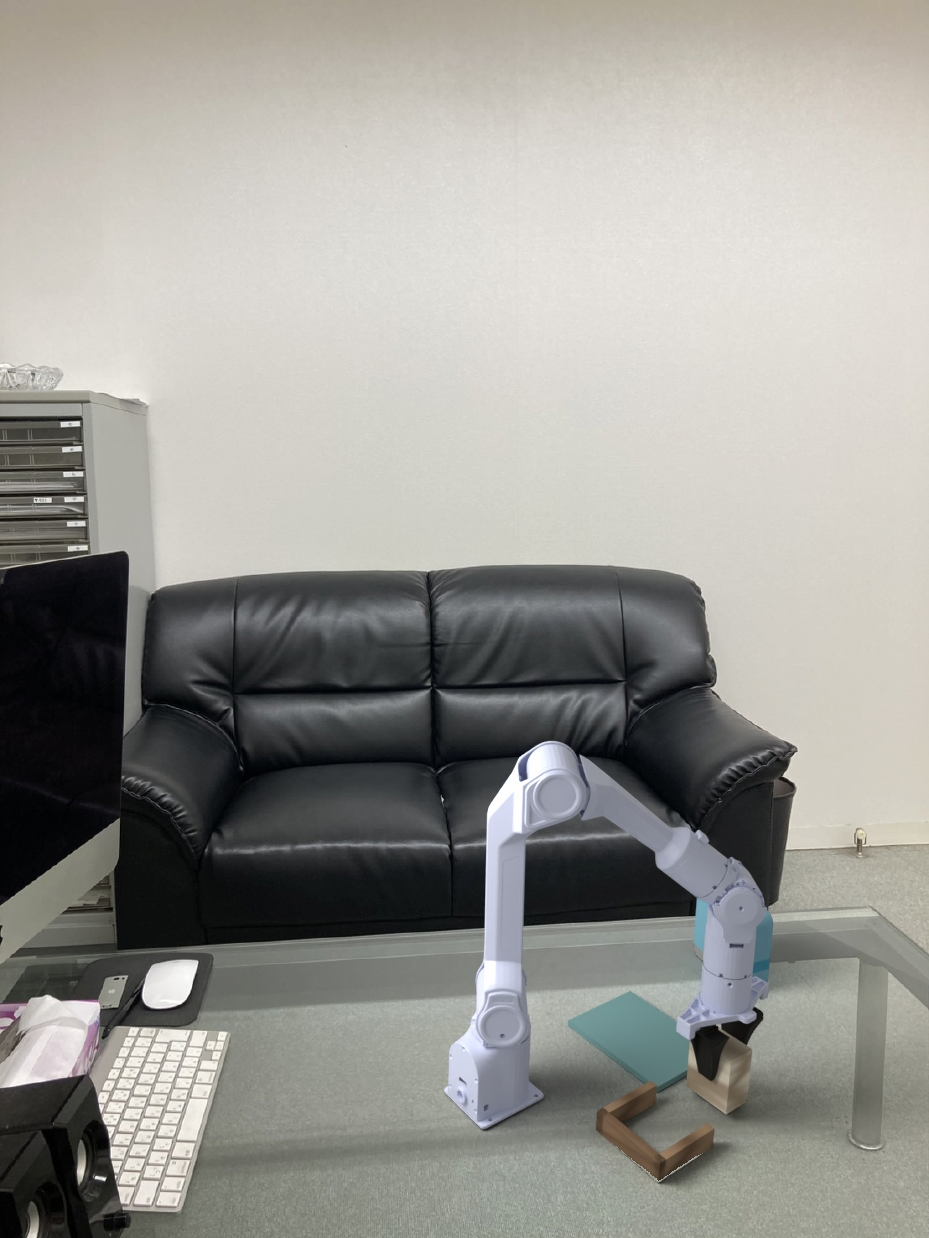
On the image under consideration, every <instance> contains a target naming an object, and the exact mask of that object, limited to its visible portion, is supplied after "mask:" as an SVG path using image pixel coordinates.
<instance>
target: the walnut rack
mask: <svg viewBox="0 0 929 1238" xmlns="http://www.w3.org/2000/svg"><path fill="white" fill-rule="evenodd" d="M656 1092H657V1085H656V1084H655V1083H653V1082H652V1081H649V1082H647V1083H646V1084H644V1083H643V1084H641V1086H638V1087H637V1088H635V1089H633V1090H632V1091H629V1092H627V1094H625V1095H623V1096H621V1097H619V1098H617V1099H616V1100H613V1101H611V1102H610V1103H609V1104H607V1105H605V1106H603V1107H602V1108H600V1109H597V1111H596V1121H595V1131H597V1132H598V1133H599V1134H600V1135H601V1136H602V1137H603V1138H605V1140H607V1141H609V1143H611V1144H612V1143H613V1144H614V1145H616V1146H617V1147H618V1148H619V1149H620V1150H622V1151H623V1152H624V1153H625V1154H626V1155H627V1156H628V1157H630V1158H632V1160H633V1161H635V1162H636V1163H637V1164H639V1165H640V1166H642V1167H643V1168H644V1169H646V1171H648V1172H650V1174H651V1175H652V1176H654V1177H655V1178H657V1180H658V1181H659V1180H661V1179H663V1178H664V1177H665V1176H667V1175H669V1174H670V1173H671V1172H672V1171H674V1170H676V1169H677V1168H678V1167H680V1166H682V1165H683V1164H685V1163H687V1162H688V1161H689V1160H691V1159H692V1158H694V1157H695V1156H698V1155H700V1154H702V1153H704V1152H705V1151H707V1150H708V1151H710V1150H712V1149H713V1148H714V1138H715V1137H714V1135H715V1128H714V1127H713V1126H712V1125H711V1124H710V1123H708V1122H707V1123H705V1124H704V1125H702V1126H701V1127H699V1128H698V1129H695V1130H694V1131H693V1132H691V1133H689V1134H688V1135H687V1136H685V1137H683V1138H682V1139H680V1140H679V1141H677V1142H676V1143H673V1144H672V1145H670V1146H669V1147H668V1148H666V1149H664V1150H663V1151H661V1152H660V1153H659V1152H658V1151H657V1150H655V1149H654V1148H653V1147H652V1146H651V1145H650V1144H649V1143H647V1142H646V1141H645V1140H643V1139H642V1138H641V1137H639V1136H638V1135H637V1134H636V1133H635V1132H634V1131H633V1130H631V1129H630V1128H629V1127H627V1126H626V1125H625V1124H624V1123H625V1122H627V1121H629V1120H630V1119H632V1118H634V1117H635V1116H637V1115H639V1114H640V1113H642V1112H644V1111H646V1110H647V1109H649V1108H651V1107H653V1106H654V1105H655V1104H656V1103H657V1093H658V1092H657V1093H656ZM613 1144H612V1145H613ZM614 1145H613V1146H614ZM618 1148H617V1149H618ZM619 1149H618V1150H619ZM709 1149H710V1150H709ZM620 1150H619V1151H620ZM708 1151H707V1152H708ZM705 1153H706V1152H705ZM705 1153H704V1154H705ZM625 1154H624V1155H625ZM626 1155H625V1156H626ZM702 1155H703V1154H702ZM627 1156H626V1157H627ZM628 1157H627V1158H628ZM632 1160H631V1161H632ZM633 1161H632V1162H633Z"/></svg>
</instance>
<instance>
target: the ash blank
mask: <svg viewBox="0 0 929 1238" xmlns="http://www.w3.org/2000/svg"><path fill="white" fill-rule="evenodd" d="M718 1030H719V1031H721V1032H722V1033H724V1034H725V1035H727V1036H729V1037H730V1038H729V1040H728V1041H727V1043H726V1044H725V1046H724V1048H723V1050H722V1053H721V1056H720V1061H719V1066H718V1071H717V1075H716V1077H715V1079H714V1080H712V1081H710V1080H708V1079H707V1078H705V1077H704V1076H703V1075H701V1074H700V1073H698V1069H697V1063H696V1058H695V1054H694V1050H693V1046H692V1043H691V1041H690V1045H689V1058H688V1070H687V1076H686V1087H687V1088H688V1089H690V1090H691V1091H693V1092H694V1093H695V1094H697V1095H698V1096H700V1097H702V1098H703V1099H704V1100H705V1101H707V1102H708V1103H709V1104H711V1105H712V1106H714V1107H715V1108H716V1109H718V1110H719V1111H721V1112H722V1113H723V1114H725V1115H728V1114H729V1113H732V1112H733V1111H735V1109H737V1108H739V1107H740V1106H742V1105H743V1104H745V1103H747V1102H748V1101H749V1100H748V1098H749V1088H750V1077H751V1067H752V1055H753V1048H751V1047H750V1046H749V1045H748V1044H747V1045H745V1044H744V1043H742V1042H740V1041H739V1040H737V1039H736V1038H734V1037H733V1036H731V1035H730V1034H728V1033H726V1032H725V1031H723V1030H722V1029H721V1027H719V1028H718Z"/></svg>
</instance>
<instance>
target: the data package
mask: <svg viewBox="0 0 929 1238" xmlns="http://www.w3.org/2000/svg"><path fill="white" fill-rule="evenodd" d="M708 905H709V903H706V902H704V901H701V900H699V899H698V898H697V897H696V908H695V920H694V933H693V943H695V945H697V947H698V948H700V949H701V951H704V939H705V927H706V923H707V912H708ZM773 930H774V920H773V917H772V914H771V913H770V911H769V910H768V909H767V912H766V915H765V917H764V919H763V920H762V922H761V923H760V924H759V925H758V926H757V927H756V942H755V953H754V963H753V973H752V978H753V977H755V976H756V977H758V978H760V979H762V980H763V981H765V982H767V983H769V982H768V980H769V971H770V963H771V962H770V961H771V953H772V952H771V951H772V941H773Z"/></svg>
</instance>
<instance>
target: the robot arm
mask: <svg viewBox="0 0 929 1238" xmlns="http://www.w3.org/2000/svg"><path fill="white" fill-rule="evenodd" d="M579 758H580V761H581V762H580V763H581V764H580V763H579V760H578V759H579ZM579 758H578V757H577V754H576V753H575V751H574V750H573V749H572V748H571V747H570V746H569V745H568V744H565V743H564V742H561V741H557V740H548V741H544V742H541V743H538V744H536V745H535V746H534V747H532V748H531V749H530V750H528V751H526V752H525V753H524V754H522V755H521V756H519V758H517V761H516V764H515V766H514V768H513V770H512V772H511V774H510V775H509V776H508V778H507V779H506V780H505V782H504V783H503V785H502V787H501V788H500V789H499V791H498V792H497V794H496V795H495V797H494V798H493V800H492V801H491V803H490V804H489V806H488V809H487V813H486V849H485V850H486V851H485V853H486V855H485V856H486V857H485V897H484V898H485V899H484V902H485V903H484V904H485V905H484V948H483V961H482V963H481V965H480V967H479V968H478V970H477V972H476V975H475V986H476V1000H475V1001H476V1003H475V1004H476V1010H475V1012H474V1014H473V1015H472V1017H471V1020H470V1026H469V1027H468V1030H467V1031H465V1033H464V1035H462V1036H461V1037H460V1038H459V1039H458V1040H456V1041H455V1042H453V1043H452V1044H451V1046H450V1048H449V1051H448V1052H449V1053H448V1076H447V1077H448V1081H447V1083H448V1085H447V1086H445V1087H444V1094H446V1096H448V1098H450V1099H451V1101H453V1102H454V1103H455V1105H456V1106H458V1107H459V1108H460V1109H461V1111H463V1113H465V1114H466V1116H467V1117H468V1118H470V1119H471V1120H472V1121H473V1122H474V1123H475V1125H477V1127H479V1128H480V1129H482V1130H486V1129H488V1128H490V1127H492V1126H493V1125H496V1124H497V1123H500V1122H501V1121H503V1120H505V1119H507V1118H509V1117H511V1116H512V1115H514V1114H517V1113H518V1112H520V1111H522V1110H525V1109H526V1108H527V1107H530V1106H531V1105H534V1104H536V1103H537V1102H539V1101H541V1100H543V1099H544V1093H543V1092H542V1091H541V1090H540V1089H539V1088H537V1087H536V1086H535V1085H534V1084H533V1083H532V1082H531V1081H530V1059H531V1057H530V1056H531V1037H532V1036H531V1034H532V1031H531V1030H532V1025H531V1024H532V1023H531V1021H530V1020H531V1019H530V1015H529V1012H528V999H527V975H526V972H525V970H524V969H523V944H524V943H523V941H524V915H525V913H524V912H525V906H524V905H525V882H526V881H525V878H526V876H525V875H526V872H525V871H526V843H527V838H528V837H530V836H531V835H533V834H534V833H536V832H537V831H538V830H542V829H545V828H548V827H551V826H555V825H557V824H561V823H563V822H566V821H568V820H570V819H573V818H575V817H576V816H577V815H578V814H579V816H580V817H579V818H580V820H581V821H588V820H591V819H596V818H600V817H604V818H606V819H607V820H609V821H610V822H611V823H612V824H614V825H616V826H617V827H618V828H619V829H621V830H623V831H624V832H626V833H627V834H629V835H630V836H631V837H633V838H634V839H636V840H637V841H639V842H640V843H641V844H643V845H644V846H645V847H647V848H649V849H650V850H652V851H653V852H654V854H655V855H654V856H655V858H654V859H655V865H656V868H658V869H659V870H660V871H662V872H663V873H664V874H666V875H667V876H668V877H670V878H671V879H672V880H673V881H675V882H676V883H677V884H678V885H680V886H681V887H682V888H684V889H685V890H686V891H688V892H689V893H690V894H692V896H694V897H695V898H696V899H697V898H698V899H699V900H701V901H704V902H706V903H709V905H708V912H707V923H706V927H705V939H704V951H703V962H702V965H701V966H702V967H701V979H700V988H699V989H700V990H699V991H698V993H697V994H696V996H695V997H694V999H693V1000H692V1001H691V1003H690V1004H689V1005H688V1007H687V1008H686V1010H684V1011H683V1013H681V1014H680V1015H678V1016H676V1022H677V1027H676V1032H678V1033H679V1034H680V1035H682V1036H683V1037H685V1038H687V1039H688V1040H690V1041H691V1043H692V1046H693V1050H694V1054H695V1058H696V1063H697V1069H698V1073H700V1074H701V1075H703V1076H704V1077H705V1078H707V1079H708V1080H710V1081H712V1080H714V1079H715V1077H716V1075H717V1071H718V1066H719V1061H720V1056H721V1053H722V1050H723V1048H724V1046H725V1044H726V1043H727V1041H728V1040H729V1038H730V1037H729V1036H727V1035H725V1034H724V1033H722V1032H721V1031H719V1030H718V1028H720V1029H722V1030H723V1031H725V1032H726V1033H728V1034H730V1035H731V1036H733V1037H734V1038H736V1039H737V1040H739V1041H740V1042H742V1043H744V1044H745V1045H747V1046H748V1043H749V1041H750V1039H751V1038H752V1036H753V1034H754V1032H755V1031H756V1029H757V1027H758V1026H759V1025H760V1024H761V1023H762V1022H763V1021H764V1015H765V1014H764V1012H763V1011H762V1009H760V1008H759V1007H756V1004H757V1003H758V1001H759V1000H761V1001H763V1000H765V999H767V998H768V997H769V988H770V987H769V986H770V983H769V982H765V981H763V980H762V979H760V978H758V977H756V976H755V977H753V978H752V973H753V963H754V953H755V942H756V927H757V926H758V925H759V924H760V923H761V922H762V920H763V919H764V917H765V915H766V912H767V910H768V907H766V905H765V899H764V896H763V893H762V891H761V889H760V888H759V887H758V885H757V883H756V881H755V880H754V878H753V876H752V874H751V873H750V871H749V870H748V869H747V868H746V867H745V866H744V865H743V862H742V861H740V860H738V859H735V858H734V857H733V856H731V857H729V858H727V857H726V856H725V855H723V854H722V853H721V852H719V851H718V850H717V849H716V848H715V847H713V846H712V845H711V844H709V842H710V840H709V837H708V836H707V835H706V834H705V833H704V832H703V831H702V830H700V829H698V830H696V831H695V832H694V831H693V830H691V829H690V828H688V827H686V826H679V827H678V826H677V827H670V826H669V825H668V824H666V823H665V822H664V821H663V820H662V819H661V818H659V817H658V816H657V815H656V814H654V812H652V810H650V809H649V808H647V806H645V804H643V803H642V802H641V801H639V800H638V799H637V798H636V797H634V796H633V795H632V794H631V793H630V792H629V791H627V790H626V789H625V788H624V787H623V786H621V784H619V783H618V782H617V781H615V780H614V778H612V777H611V776H610V775H608V774H607V773H606V772H605V771H604V770H602V769H601V768H600V767H598V766H597V765H596V763H594V762H592V761H591V760H590V759H588V758H586V757H585V756H584V755H581V754H579ZM718 1025H720V1027H719V1026H718Z"/></svg>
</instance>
